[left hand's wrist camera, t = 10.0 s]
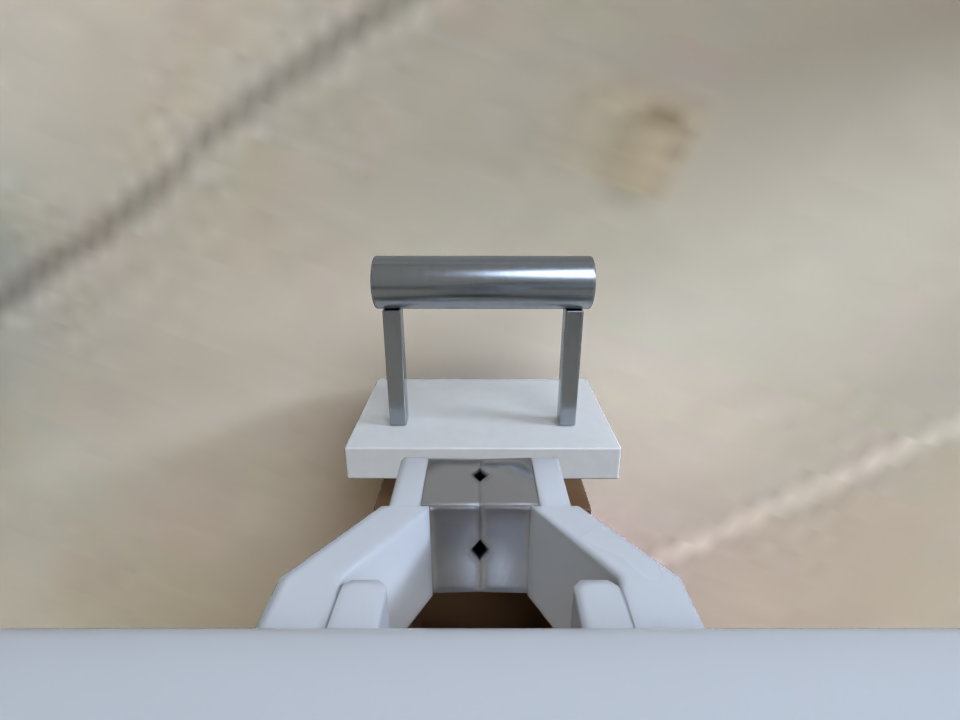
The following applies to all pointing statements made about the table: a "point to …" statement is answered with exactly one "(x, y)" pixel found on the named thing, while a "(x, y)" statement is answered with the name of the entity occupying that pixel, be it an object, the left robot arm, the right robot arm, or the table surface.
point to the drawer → (483, 399)
